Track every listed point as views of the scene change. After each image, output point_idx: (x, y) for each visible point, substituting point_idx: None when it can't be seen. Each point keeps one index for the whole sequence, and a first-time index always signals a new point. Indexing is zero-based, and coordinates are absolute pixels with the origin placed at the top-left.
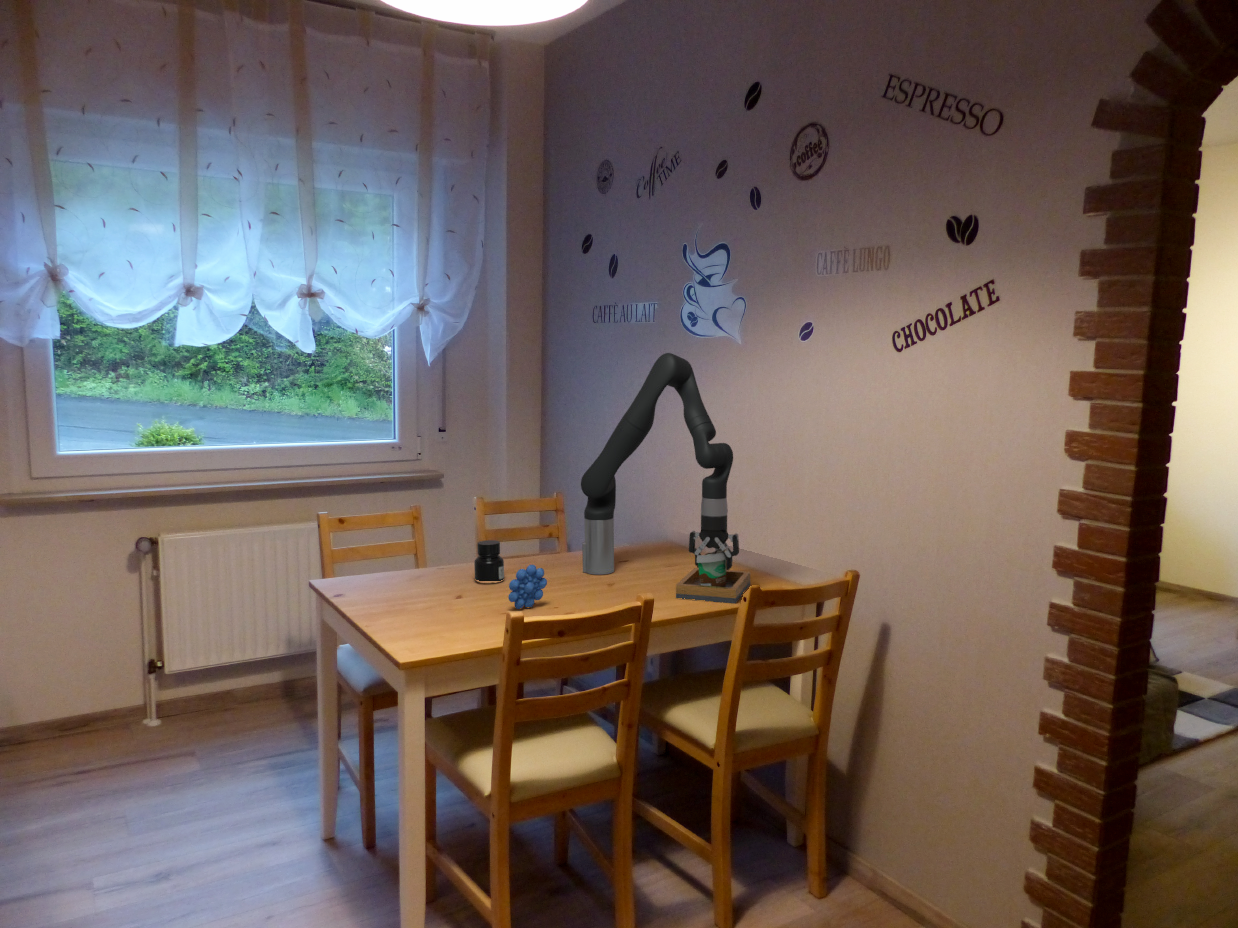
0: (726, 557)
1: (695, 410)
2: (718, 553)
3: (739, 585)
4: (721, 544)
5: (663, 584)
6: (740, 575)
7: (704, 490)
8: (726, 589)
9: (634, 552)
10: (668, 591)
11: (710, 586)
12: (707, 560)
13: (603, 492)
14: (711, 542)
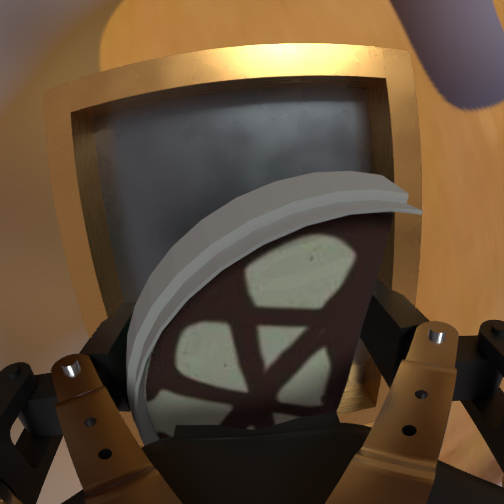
0: (109, 362)
1: None
2: (153, 342)
3: (54, 193)
4: (91, 452)
5: (473, 282)
6: None
7: None
8: (91, 75)
9: (498, 471)
10: (442, 183)
11: (196, 75)
12: (266, 196)
13: None
14: (287, 488)
